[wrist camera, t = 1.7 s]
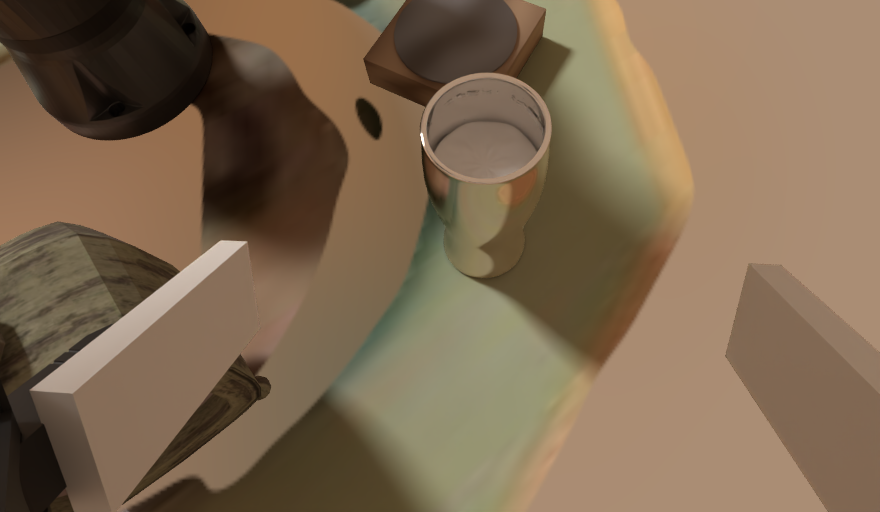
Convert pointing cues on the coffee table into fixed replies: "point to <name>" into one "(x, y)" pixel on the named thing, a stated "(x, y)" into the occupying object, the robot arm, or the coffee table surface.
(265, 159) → the coffee table surface
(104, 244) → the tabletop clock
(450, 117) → the silver metal cup
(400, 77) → the walnut plinth
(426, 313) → the coffee table surface
